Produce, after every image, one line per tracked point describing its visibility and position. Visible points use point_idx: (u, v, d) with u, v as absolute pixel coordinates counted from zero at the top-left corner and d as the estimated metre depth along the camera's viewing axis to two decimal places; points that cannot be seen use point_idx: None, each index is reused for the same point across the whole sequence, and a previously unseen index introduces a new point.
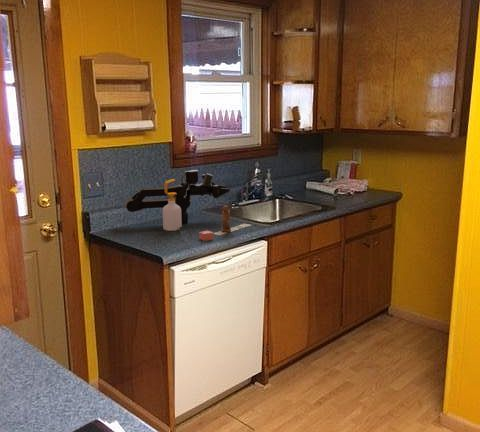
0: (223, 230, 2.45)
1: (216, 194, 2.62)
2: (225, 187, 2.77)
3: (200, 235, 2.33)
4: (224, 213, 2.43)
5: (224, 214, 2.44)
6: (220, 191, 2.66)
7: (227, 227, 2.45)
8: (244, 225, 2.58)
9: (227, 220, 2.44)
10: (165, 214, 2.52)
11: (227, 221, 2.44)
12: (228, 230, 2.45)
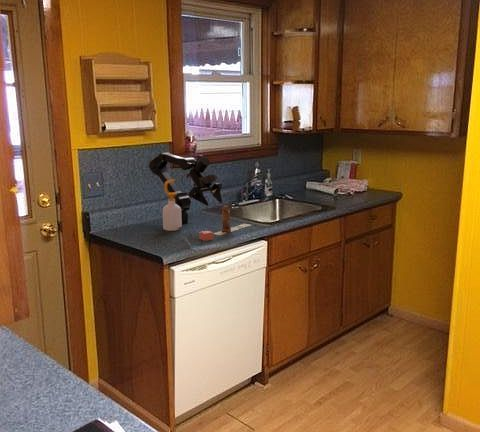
0: (223, 230, 2.45)
1: (190, 194, 2.47)
2: (221, 202, 2.53)
3: (200, 235, 2.33)
4: (224, 213, 2.43)
5: (224, 214, 2.44)
6: (200, 197, 2.48)
7: (227, 227, 2.45)
8: (244, 225, 2.58)
9: (227, 220, 2.44)
10: (165, 214, 2.52)
11: (227, 221, 2.44)
12: (228, 230, 2.45)
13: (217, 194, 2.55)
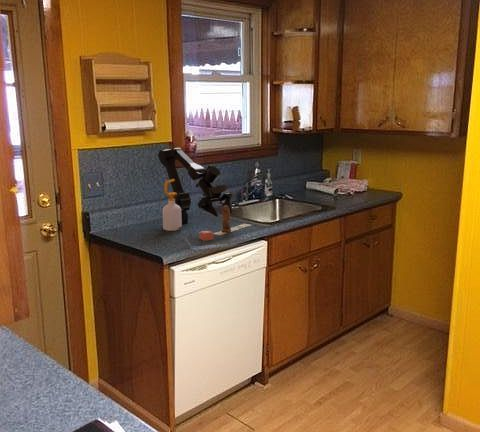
0: (223, 230, 2.45)
1: (199, 205, 2.43)
2: (230, 213, 2.49)
3: (200, 235, 2.33)
4: (224, 213, 2.43)
5: (224, 214, 2.44)
6: (209, 207, 2.44)
7: (227, 227, 2.45)
8: (244, 225, 2.58)
9: (227, 220, 2.44)
10: (165, 214, 2.52)
11: (227, 221, 2.44)
12: (228, 230, 2.45)
13: (227, 204, 2.51)
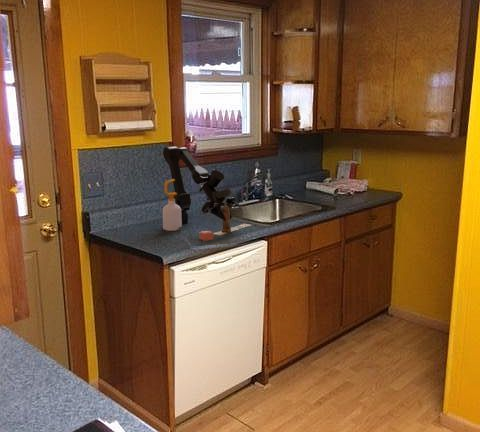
0: (223, 230, 2.45)
1: (203, 209, 2.41)
2: (230, 218, 2.46)
3: (200, 235, 2.33)
4: (224, 213, 2.43)
5: (224, 214, 2.44)
6: (217, 211, 2.44)
7: (227, 227, 2.45)
8: (244, 225, 2.58)
9: (227, 220, 2.44)
10: (165, 214, 2.52)
11: (227, 221, 2.44)
12: (228, 230, 2.45)
13: None
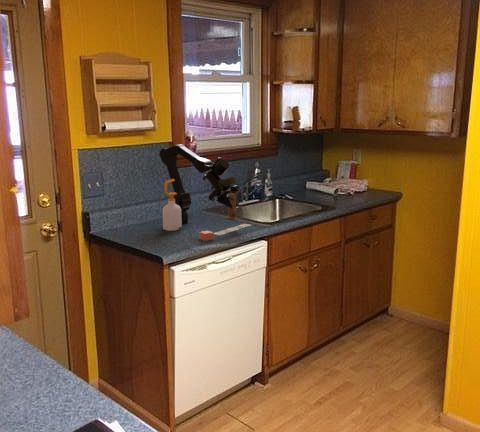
0: (230, 218, 2.47)
1: (211, 197, 2.42)
2: (236, 206, 2.48)
3: (200, 235, 2.33)
4: (231, 201, 2.45)
5: (231, 202, 2.45)
6: (223, 199, 2.46)
7: (233, 215, 2.47)
8: (244, 225, 2.58)
9: (234, 208, 2.46)
10: (165, 214, 2.52)
11: (234, 209, 2.46)
12: (235, 218, 2.47)
13: None
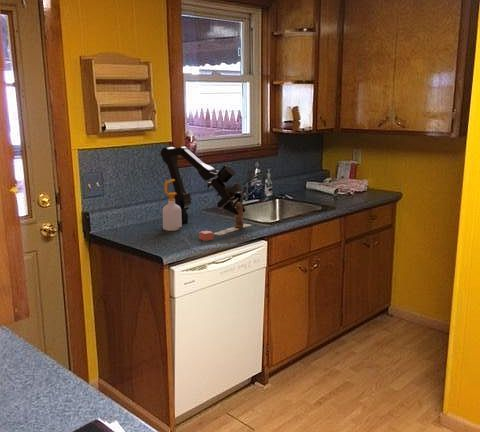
0: (237, 226, 2.53)
1: (220, 204, 2.46)
2: (244, 211, 2.55)
3: (200, 235, 2.33)
4: (238, 209, 2.51)
5: (238, 210, 2.51)
6: (229, 206, 2.49)
7: (241, 223, 2.53)
8: (244, 225, 2.58)
9: (241, 216, 2.52)
10: (165, 214, 2.52)
11: (241, 217, 2.52)
12: (242, 226, 2.53)
13: None
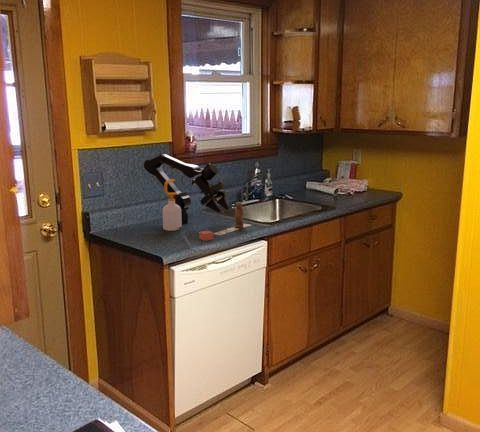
0: (237, 226, 2.53)
1: (203, 201, 2.50)
2: (227, 209, 2.61)
3: (200, 235, 2.33)
4: (238, 209, 2.51)
5: (238, 210, 2.51)
6: (211, 204, 2.52)
7: (241, 223, 2.53)
8: (244, 225, 2.58)
9: (241, 216, 2.52)
10: (165, 214, 2.52)
11: (241, 217, 2.52)
12: (242, 226, 2.53)
13: (223, 201, 2.62)
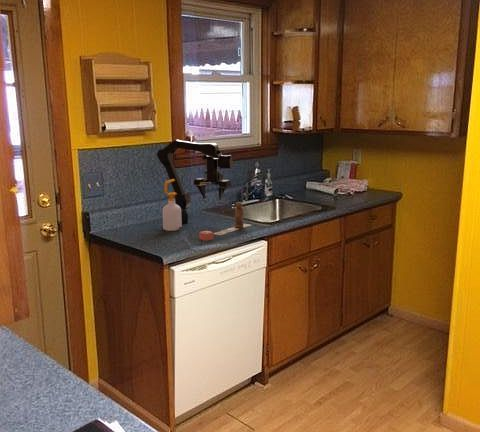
0: (237, 226, 2.53)
1: (227, 184, 2.56)
2: (204, 198, 2.64)
3: (200, 235, 2.33)
4: (238, 209, 2.51)
5: (238, 210, 2.51)
6: (222, 189, 2.59)
7: (241, 223, 2.53)
8: (244, 225, 2.58)
9: (241, 216, 2.52)
10: (165, 214, 2.52)
11: (241, 217, 2.52)
12: (242, 226, 2.53)
13: (204, 189, 2.64)
